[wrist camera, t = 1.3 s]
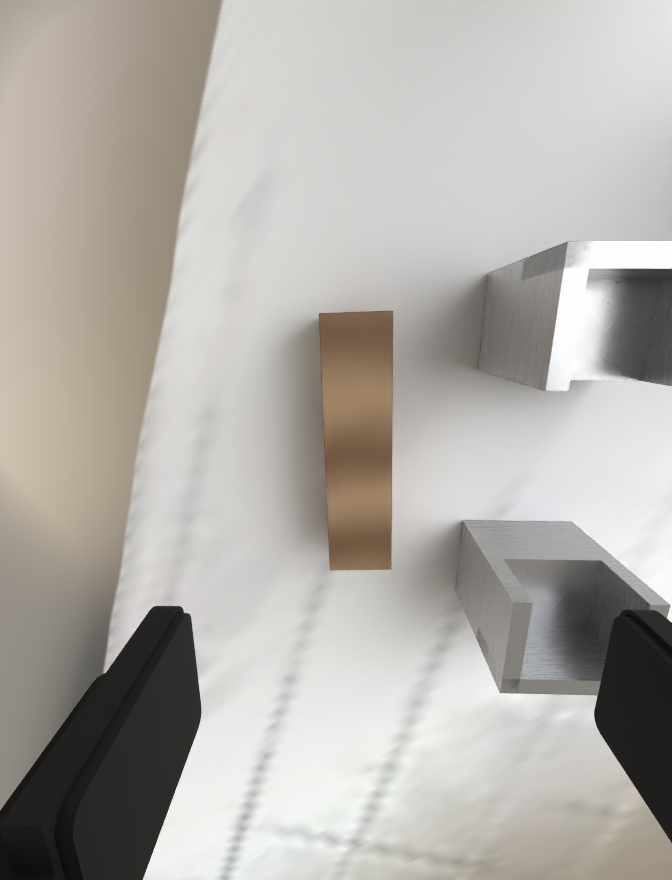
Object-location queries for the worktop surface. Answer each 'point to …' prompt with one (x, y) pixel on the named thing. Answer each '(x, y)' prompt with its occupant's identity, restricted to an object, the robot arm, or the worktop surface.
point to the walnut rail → (358, 436)
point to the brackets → (563, 543)
